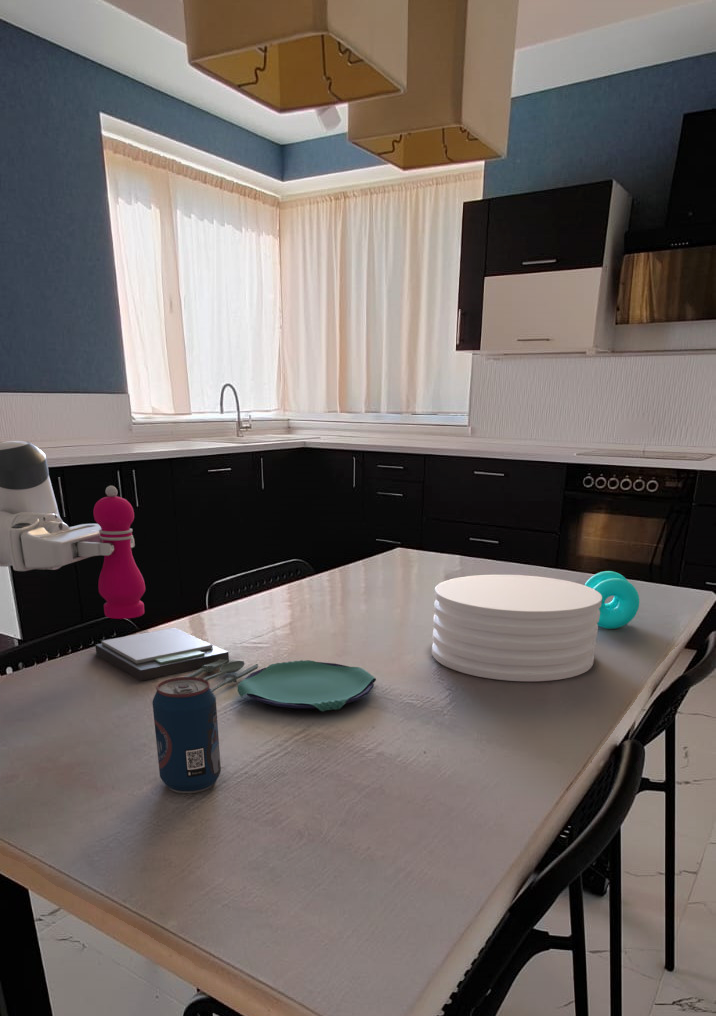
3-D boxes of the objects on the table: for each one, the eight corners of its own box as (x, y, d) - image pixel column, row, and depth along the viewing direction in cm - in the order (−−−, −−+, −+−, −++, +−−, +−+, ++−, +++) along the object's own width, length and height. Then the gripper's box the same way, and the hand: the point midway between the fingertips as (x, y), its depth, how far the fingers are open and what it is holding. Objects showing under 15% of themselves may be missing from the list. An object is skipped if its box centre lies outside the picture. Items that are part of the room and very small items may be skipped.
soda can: (155, 775, 91) (145, 679, 86) (213, 765, 94) (206, 672, 89) (167, 800, 85) (157, 699, 81) (228, 789, 88) (221, 691, 83)
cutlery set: (340, 727, 105) (340, 711, 104) (159, 695, 116) (158, 680, 115) (392, 683, 122) (393, 669, 121) (230, 658, 133) (230, 645, 132)
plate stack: (475, 626, 154) (479, 568, 149) (614, 650, 139) (623, 587, 135) (402, 660, 133) (404, 594, 128) (558, 693, 118) (566, 620, 114)
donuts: (625, 618, 160) (633, 570, 156) (636, 631, 151) (644, 580, 147) (577, 616, 161) (582, 569, 157) (584, 629, 152) (591, 579, 148)
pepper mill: (154, 609, 128) (142, 484, 120) (138, 620, 121) (124, 488, 114) (112, 608, 129) (97, 483, 121) (94, 619, 122) (77, 487, 114)
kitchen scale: (96, 654, 134) (94, 641, 133) (179, 638, 144) (178, 626, 143) (141, 681, 122) (140, 666, 121) (229, 662, 131) (228, 648, 130)
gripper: (82, 550, 134) (155, 554, 131) (7, 573, 116) (90, 578, 113) (77, 513, 131) (151, 516, 129) (0, 530, 113) (84, 534, 110)
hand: (122, 545), depth 121 cm, fingers closed on pepper mill, 5 cm apart
